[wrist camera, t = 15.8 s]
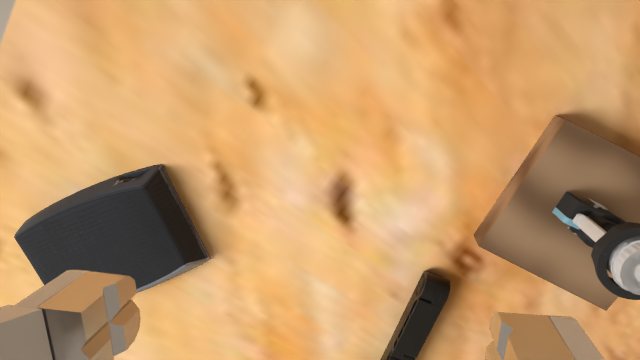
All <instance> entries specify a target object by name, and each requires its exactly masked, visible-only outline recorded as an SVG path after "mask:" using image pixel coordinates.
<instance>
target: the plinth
mask: <svg viewBox="0 0 640 360" xmlns="http://www.w3.org/2000/svg"><path fill="white" fill-rule="evenodd" d="M565 192H569V193H571V194H573V195H575V196H577V197H578V198H580V199H581V200H583V201H584V202H586V203H587V204H589V205H590V206H592V207H593V206H594V203H592V202H591V201H590V200H588V198H589V199H591V200H593V201H596V202H598V203H600V204H601V205H602V206H604V207H605V208H607V209H608V211H610V212H611V213H613V214H614V215H616V216H617V217H619V218H621V219H623V220H624V221H626V222H634V223H640V156H638V155H636V154H634V153H632V152H630V151H628V150H626V149H624V148H622V147H620V146H618V145H616V144H614V143H612V142H610V141H608V140H606V139H604V138H602V137H600V136H598V135H596V134H594V133H592V132H590V131H588V130H586V129H584V128H582V127H580V126H578V125H576V124H574V123H572V122H570V121H568V120H566V119H563V118H560V117H558V116H554V118H553V119H552V121H551V122H550V124H549V125H548V127H547V128H546V130H545V131H544V132H543V134H542V135H541V137H540V138H539V140H538V141H537V143H536V144H535V146H534V147H533V149H532V150H531V152H530V153H529V154H528V156H527V157H526V159H525V160H524V162H523V163H522V165H521V166H520V168H519V169H518V171H517V172H516V174H515V175H514V176H513V178H512V179H511V181H510V182H509V184H508V185H507V187H506V188H505V190H504V191H503V193H502V194H501V196H500V197H499V198H498V200H497V201H496V203H495V204H494V206H493V207H492V209H491V210H490V212H489V213H488V215H487V216H486V218H485V219H484V220H483V222H482V223H481V225H480V226H479V228H478V229H477V231H476V232H475V234H474V237H475V239H476V241H477V243H478V245H479V247H481V248H483V249H485V250H487V251H489V252H491V253H493V254H495V255H497V256H499V257H501V258H503V259H505V260H507V261H509V262H511V263H513V264H515V265H517V266H519V267H521V268H523V269H525V270H527V271H529V272H531V273H533V274H535V275H537V276H539V277H541V278H543V279H545V280H547V281H549V282H551V283H552V284H554V285H556V286H558V287H560V288H562V289H564V290H566V291H568V292H570V293H572V294H574V295H576V296H578V297H580V298H582V299H584V300H586V301H588V302H590V303H592V304H594V305H596V306H598V307H600V308H602V309H604V310H607V309H608V308H609V307H610V306H611V305H612V303H613V302H614V301H615V300H616V299H617V298H618V297H619V296H617V295H615V294H613V293H611V292H610V291H608V290H607V289H606V288H605V287H604V286H603V285H602V283H601V282H600V281H599V279H598V277H597V275H596V271H595V266H594V263H593V260H592V257H591V253H592V250H593V248H591V247H589V246H587V245H586V244H585V243H584V242H583V241H582V240H581V239H580V238H579V237H578V236H577V235H576V234H574V233H573V232H571V231H570V230H569V228H568V227H570V225H568V224H566V223H564V222H562V221H561V220H560V219H559V218H558V217H557V216H556V215H555V214H553V213H552V211H553V210H554V208H555V207H556V206H557V204H558V203H559V201H560V200H561V198H562V197H563V195H564V194H565ZM607 273H608V276H609V277H611V278H613V276H612V274H611V273H610V272H609V271H608V270H607Z"/></svg>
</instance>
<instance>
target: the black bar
mask: <svg viewBox="0 0 640 360" xmlns="http://www.w3.org/2000/svg"><path fill="white" fill-rule="evenodd" d="M449 291H450V281H449V280H448V279H445V278H442V277H440V276H437V275H435V274H432V273H429V272H427V271H425V272H423V274H422V276H421V278H420V280H419V282H418V284H417V286H416V288H415V290H414V292H413V295H412V297H411V299H410V301H409V303H408V305H407V307H406V309H405V311H404V313H403V315H402V317H401V319H400V321H399V323H398V325H397V327H396V329H395V331H394V333H393V336H392V338H391V340H390V342H389V344H388V346H387V348H386V350H385V352H384V354H383V356H382V358H381V360H415V358H416V357H417V356H418V354H419V352H420V350H421V348H422V346H423V344H424V342H425V340H426V338H427V337H428V335H429V333H430V331H431V329H432V327H433V325H434V323H435V321H436V319H437V317H438V315H439V314H440V312H441V310H442V308H443V306H444V304H445V302H446V300H447V298H448V295H449Z"/></svg>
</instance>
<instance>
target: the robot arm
mask: <svg viewBox="0 0 640 360" xmlns="http://www.w3.org/2000/svg"><path fill="white" fill-rule="evenodd" d="M136 293H137V290H136V284H135V280H134V279H133V278H132V277H130V276H127V275H118V274H110V273H101V272H91V271H84V270H67V271H65V272H64V273H62V274H61V275H59V276H58V277H56V278H55V279H53V280H52V281H50V282H49V283H47V284H46V285H44V286H43V287H41V288H40V289H38V290H37V291H35V292H34V293H32V294H31V295H29V296H28V297H26V298H25V299H23V300H22V301H20V302H19V303H17V304H16V305H14V306H12V305H7V306H4V307H0V360H114V356H115V355H117V354H119V353H121V352H123V351H125V350H127V349H128V348H129V346H130V345H131V344H132V343H133V342H134V340H135V338H136V335H137V333H138V331H139V327H140V311H139V308H138V307H137V306H136V304H135V303H134V302H133V301H132V300H133V298H134V297H135V295H136ZM489 329H490V332H491V335H492V338H493V342H491V343H490V344H489V345H488V346H487V347H486V355H485V360H605V359H604V358H603V356H602V355H601V354H600V352H599V351H598V350H597V348H596V347H595V345H594V344H593V343H592V341H591V340H590V338H589V337H588V336H587V334H586V333H585V331H584V330H583V329H582V327H581V326H580V324H579V323H578V322H577V320H576V319H574V318H572V317H564V316H548V315H531V314H517V313H504V312H493V315H492V317H491V322H490V328H489Z"/></svg>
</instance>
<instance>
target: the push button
mask: <svg viewBox="0 0 640 360" xmlns="http://www.w3.org/2000/svg"><path fill="white" fill-rule="evenodd" d="M588 200H590V201H591V202H592V203H594V206H593V207H592V206H590V205H589V204H587V203H586V202H584V201H583V200H581V199H580V198H578V197H577V196H575V195H573V194H571V193H569V192H565V194H564V195H563V197H562V198H561V200H560V201H559V203H558V204H557V206H556V207H555V208H554V210H553V211H552V213H553V214H555V215H556V216H557V217H558V218H559V219H560V220H561V221H562V222H564V223H566V224H568V225H570V227H568V228H569V230H570V231H571V232H573V233H574V234H576V235H577V236H578V237H579V238H580V239H581V240H582V241H583V242H584V243H585V244H586V245H587V246H589V247H591V248H593V250H592V253H591V257H592V260H593V263H594V266H595V271H596V275H597V277H598V279H599V281H600V282H601V283H602V285H603V286H604V287H605V288H606V289H607V290H608V291H610V292H611V293H613V294H615V295H617V296H619V297H622V298H626V299H632V300H640V223H634V222H626V221H624V220H623V219H621V218H619V217H617V216H616V215H614V214H613V213H611V212H610V211H608V209H607V208H605V207H604V206H602V205H601V204H600V203H598V202H596V201H593V200H591V199H589V198H588ZM607 270H608V271H609V272H610V273H611V274H612V276H613V278H611V277H609V276H608V273H607Z"/></svg>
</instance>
